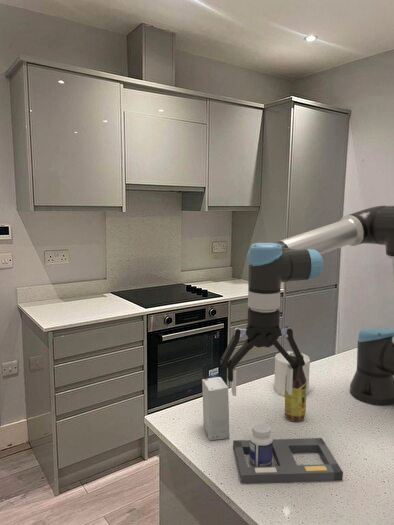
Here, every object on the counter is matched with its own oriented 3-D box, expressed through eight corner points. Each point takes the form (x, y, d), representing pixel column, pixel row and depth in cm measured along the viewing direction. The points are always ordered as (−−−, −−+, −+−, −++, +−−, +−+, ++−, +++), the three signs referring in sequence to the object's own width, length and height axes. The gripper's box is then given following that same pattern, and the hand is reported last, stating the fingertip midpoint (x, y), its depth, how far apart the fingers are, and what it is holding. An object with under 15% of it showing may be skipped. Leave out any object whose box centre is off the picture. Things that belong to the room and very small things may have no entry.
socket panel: (321, 445, 109) (321, 437, 109) (342, 480, 95) (342, 471, 95) (233, 448, 108) (233, 439, 108) (241, 483, 94) (241, 474, 94)
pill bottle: (274, 460, 103) (275, 424, 101) (268, 474, 98) (269, 435, 96) (252, 454, 105) (253, 419, 104) (246, 467, 100) (246, 430, 98)
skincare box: (229, 438, 112) (230, 388, 110) (208, 441, 111) (209, 390, 109) (221, 423, 120) (221, 375, 118) (201, 425, 119) (201, 377, 117)
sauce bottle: (305, 423, 120) (308, 359, 117) (284, 421, 121) (286, 358, 118) (304, 412, 126) (307, 351, 123) (284, 410, 128) (286, 350, 125)
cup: (294, 401, 134) (295, 366, 132) (267, 388, 143) (268, 356, 141) (315, 391, 141) (316, 358, 139) (288, 380, 150) (289, 348, 148)
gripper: (310, 304, 100) (307, 385, 103) (210, 304, 99) (209, 386, 102) (321, 311, 93) (316, 399, 96) (212, 312, 92) (211, 401, 95)
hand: (261, 393), depth 99 cm, fingers open, 13 cm apart
